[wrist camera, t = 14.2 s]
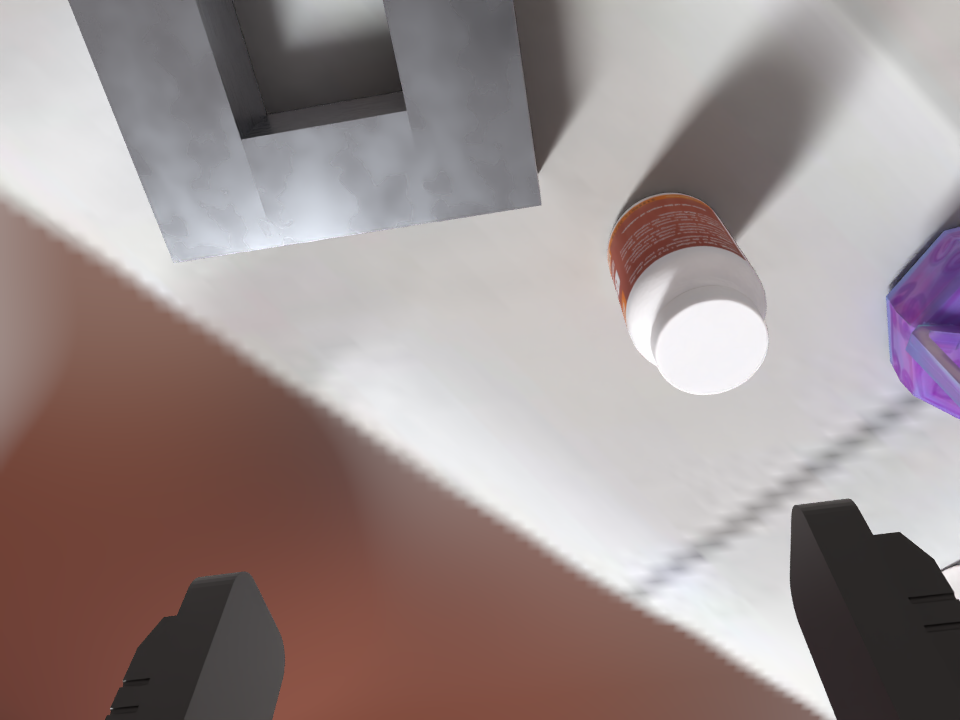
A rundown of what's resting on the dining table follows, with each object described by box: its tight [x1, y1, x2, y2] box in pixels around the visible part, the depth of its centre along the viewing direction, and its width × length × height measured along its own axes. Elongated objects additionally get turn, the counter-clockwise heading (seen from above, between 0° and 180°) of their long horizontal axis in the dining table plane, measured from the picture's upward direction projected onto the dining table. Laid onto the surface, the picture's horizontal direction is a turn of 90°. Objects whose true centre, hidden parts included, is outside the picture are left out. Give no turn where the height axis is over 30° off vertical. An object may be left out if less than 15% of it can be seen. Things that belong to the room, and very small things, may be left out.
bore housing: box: [68, 0, 541, 263], centre depth 35 cm, size 18×18×4 cm
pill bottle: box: [607, 193, 769, 395], centre depth 37 cm, size 6×6×11 cm
